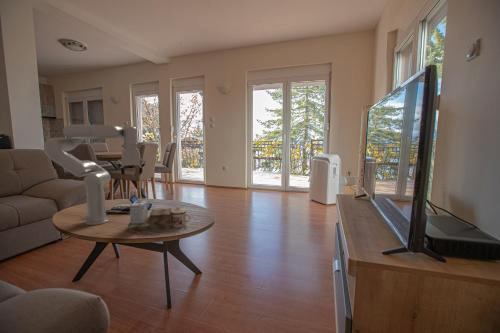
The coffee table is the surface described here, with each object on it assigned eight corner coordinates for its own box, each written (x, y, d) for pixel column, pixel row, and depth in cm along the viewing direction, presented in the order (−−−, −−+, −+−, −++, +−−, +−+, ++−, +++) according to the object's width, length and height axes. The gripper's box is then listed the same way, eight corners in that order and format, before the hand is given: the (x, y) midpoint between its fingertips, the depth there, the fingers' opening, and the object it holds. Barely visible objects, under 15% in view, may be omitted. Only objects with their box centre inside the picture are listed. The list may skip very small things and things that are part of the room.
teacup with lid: (168, 227, 140) (167, 208, 139) (174, 222, 149) (174, 204, 148) (187, 228, 139) (187, 209, 137) (193, 223, 148) (192, 205, 146)
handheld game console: (149, 210, 174) (149, 198, 173) (129, 211, 170) (129, 199, 169) (152, 204, 189) (151, 193, 188) (134, 205, 185) (133, 194, 184)
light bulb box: (136, 217, 143) (135, 200, 142) (148, 217, 144) (147, 200, 143) (130, 224, 133) (129, 205, 131) (142, 223, 134) (142, 205, 132)
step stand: (126, 235, 127) (126, 219, 126) (133, 225, 143) (132, 210, 142) (169, 232, 133) (169, 216, 132) (171, 222, 149) (171, 208, 148)
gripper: (113, 146, 139) (114, 175, 141) (145, 147, 143) (146, 174, 145) (117, 146, 146) (118, 173, 148) (147, 146, 150) (148, 173, 152)
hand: (132, 174), depth 146 cm, fingers open, 9 cm apart
